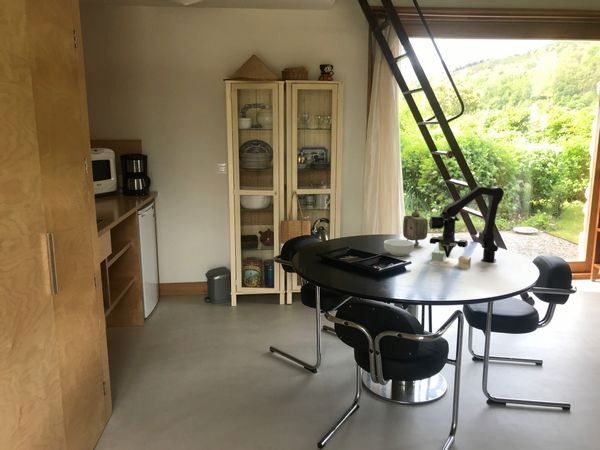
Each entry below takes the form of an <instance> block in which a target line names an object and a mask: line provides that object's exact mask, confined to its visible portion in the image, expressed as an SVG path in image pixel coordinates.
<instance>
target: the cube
mask: <svg viewBox="0 0 600 450" xmlns="http://www.w3.org/2000/svg"><path fill="white" fill-rule="evenodd" d="M458 259H459V260H458V264H457V268H460V269H461V268H462V269H466V270H467V269H470V267H471V262H472V257H471V256H464V255H460V256H459V257H458Z"/></svg>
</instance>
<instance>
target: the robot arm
mask: <svg viewBox="0 0 600 450" xmlns="http://www.w3.org/2000/svg"><path fill="white" fill-rule="evenodd" d="M481 195H484V196H487V201H488V207H487V212H486V218H485V222H484V227H483V230H482V231H479V233H478V238H477V240H478V243H479V245H481V249H482V248H483V253H482V254H483V255H482V258H481V259H480V261H481V262H486V263H487V262H488V263H495V262H496V261H497V259H496V258H495V257H496V255H495V254H496V252H498V249H499V247H498V245H496V243H495V234H494V228H495V223H496V219H497V213H498V208H499V205H500V203H501V202H502V199H503V197H504V195H505V192H504V189H503V188H501V187H497V186H491V187H487V186H481V185H477V186H476V187H474V189H472V190H470V191H469V192H467V194H465V195H463V196H462V197H460V198H459V199H458V200H456V201H454V202H450V203H448V204H447V205H445V206H444V207H443V210H442V212H440V215H438V216H433V215H431V216H430V218H429V222H428V228H429V229H430V230H442V229H443V231H442V235H441V236H442V237H441V238H440V237H438V236H432V237H431V238H429V244H432V245H435V244H439V243H441V245H440V246H442V247H443V248H444V250H445V253H446V258H450V255H451V253H452V250H453V249H454V248H455V247H456V246H458V247H459V248H467V246H468V244H469V243H468V240H467V239H466V240H465V239H459V240H456V236H455V235H456V222H460V221H461V220H460V218H458V216H457V215H458V214H459V213H460V212H461V211H462V209H463V208H464V207H466V206H467V205H468V204H470V203H471V202H473V201H475V199H478V198H479V197H480V196H481ZM438 242H439V243H438Z"/></svg>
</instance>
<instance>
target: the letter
mask: <svg viewBox="0 0 600 450" xmlns="http://www.w3.org/2000/svg"><path fill="white" fill-rule="evenodd" d="M458 260H459V258H453V257H448V258H447V257H446V259H445V260H444V261H437V260H432V259H431V260H430V261H429V262H428V265H433V266H443V267H449V268H454V267H455V266H456V265H458Z"/></svg>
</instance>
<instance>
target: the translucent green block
mask: <svg viewBox="0 0 600 450" xmlns="http://www.w3.org/2000/svg"><path fill="white" fill-rule="evenodd" d="M446 258H447V257H446V253H445V251H439V249H438V250H437V249H434V250H433V251H431V261H432V260H437V261H444V260H445V259H446Z"/></svg>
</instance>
